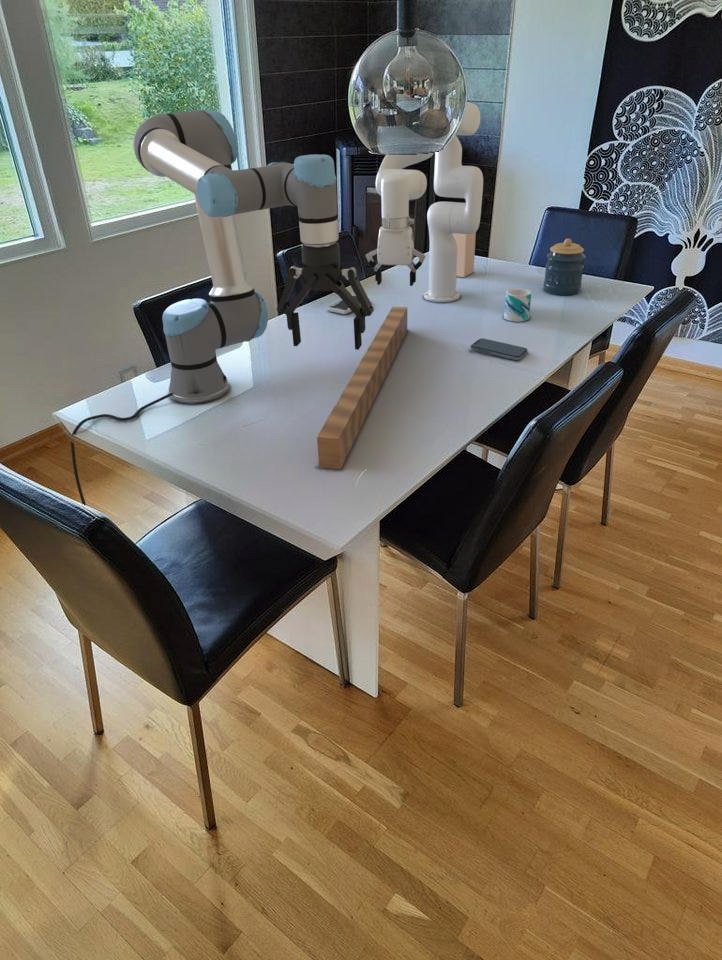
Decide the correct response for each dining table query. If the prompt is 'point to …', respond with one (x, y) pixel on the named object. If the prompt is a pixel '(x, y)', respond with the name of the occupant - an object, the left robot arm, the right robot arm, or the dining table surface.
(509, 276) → the dining table surface
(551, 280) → the canister
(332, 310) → the smartphone
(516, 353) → the smartphone
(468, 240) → the tan upright wooden block
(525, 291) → the mug
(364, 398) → the post
